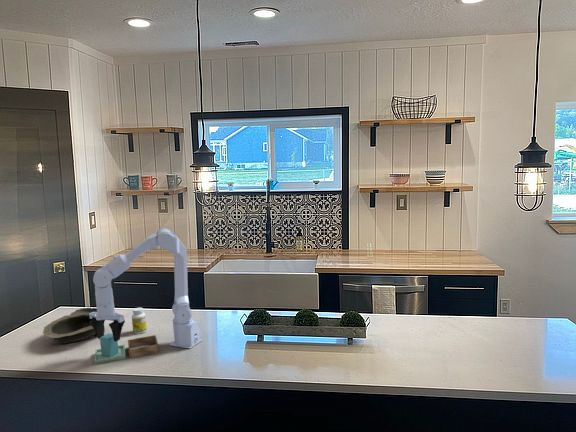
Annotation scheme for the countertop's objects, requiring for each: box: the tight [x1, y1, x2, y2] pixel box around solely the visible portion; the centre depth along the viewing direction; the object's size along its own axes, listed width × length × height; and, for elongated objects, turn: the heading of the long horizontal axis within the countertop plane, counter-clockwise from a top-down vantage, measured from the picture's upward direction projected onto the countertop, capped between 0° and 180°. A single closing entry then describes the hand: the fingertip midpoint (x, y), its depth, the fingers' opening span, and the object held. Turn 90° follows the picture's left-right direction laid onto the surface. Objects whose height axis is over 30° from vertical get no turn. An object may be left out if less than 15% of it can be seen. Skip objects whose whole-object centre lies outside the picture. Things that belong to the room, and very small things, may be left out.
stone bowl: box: [42, 307, 106, 345], centre depth 179 cm, size 25×25×9 cm
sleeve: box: [127, 334, 160, 359], centre depth 164 cm, size 10×10×3 cm
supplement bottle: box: [131, 307, 148, 335], centre depth 182 cm, size 5×5×10 cm
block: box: [99, 333, 119, 357], centre depth 160 cm, size 4×4×7 cm
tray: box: [94, 344, 127, 366], centre depth 160 cm, size 10×10×2 cm
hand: (109, 339), depth 160 cm, fingers open, 7 cm apart
